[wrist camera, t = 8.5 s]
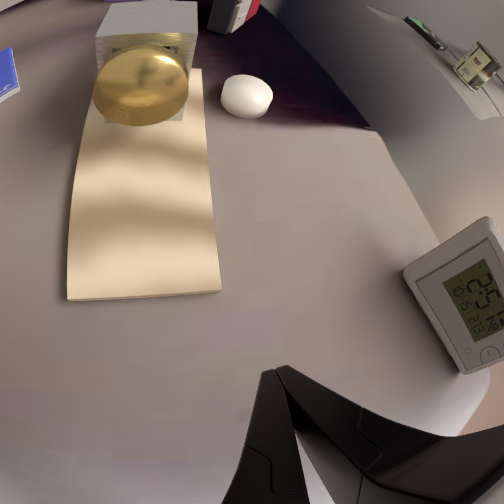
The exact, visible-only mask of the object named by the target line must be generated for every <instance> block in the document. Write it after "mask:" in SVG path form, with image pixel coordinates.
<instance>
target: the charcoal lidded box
mask: <svg viewBox="0 0 504 504" xmlns="http://www.w3.org/2000/svg"><path fill="white" fill-rule="evenodd" d="M260 2H261V0H214V2H213V5H212V9H211V13H210V17H209V21H208V25H207V30H210V31H214V32H217V33H220V34H223V35H227V34H228V33H229V32H230V33H233V32H234V31H235V30H236V29H237V28H238V27H240V26H241V25H242V24H243V23H244V21H247V20H248V19H249V18H251V17H252V16H253V15H254V14H256V12H257V10H258V7H259V4H260Z"/></svg>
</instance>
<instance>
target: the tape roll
mask: <svg viewBox="0 0 504 504" xmlns="http://www.w3.org/2000/svg"><path fill="white" fill-rule="evenodd" d="M102 1H107V2H125V1H133V0H102Z"/></svg>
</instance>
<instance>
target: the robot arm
mask: <svg viewBox="0 0 504 504" xmlns="http://www.w3.org/2000/svg"><path fill="white" fill-rule="evenodd" d="M295 434H296V436H297V437H298V439H299V441H300V443H301V445H302V447H303V448H304V450H305V452H306V454H307V456H308V457H309V459H310V461H311V463H312V465H313V466H314V468H315V470H316V472H317V473H318V475H319V477H320V479H321V480H322V482H323V484H324V485H325V487H326V489H327V491H328V492H329V494H330V496H331V497H332V499H333V501H334V502H335V504H504V424H503V425H500V426H497V427H493V428H490V429H486V430H482V431H479V432H475V433H471V434H466V435H462V436H456V437H446V436H439V435H435V434H432V433H428V432H425V431H422V430H418V429H415V428H412V427H409V426H406V425H403V424H400V423H397V422H394V421H392V420H389V419H387V418H384V417H382V416H380V415H378V414H376V413H373V412H371V411H369V410H368V409H366V408H362V407H361V406H360V405H358V404H356V403H354V402H352V401H350V400H348V399H346V398H345V397H343V396H341V395H339V394H337V393H335V392H334V391H332V390H330V389H328V388H326V387H325V386H323V385H321V384H319V383H318V382H316V381H314V380H312V379H311V378H309V377H307V376H306V375H304V374H302V373H300V372H299V371H297V370H295V369H294V368H292V367H290V366H289V365H284V366H281V367H278V368H276V369H275V370H274V369H271V370H267V371H263V372H262V373H261V377H260V381H259V386H258V390H257V394H256V399H255V403H254V407H253V411H252V415H251V419H250V423H249V427H248V431H247V435H246V439H245V443H244V447H243V451H242V454H241V458H240V461H239V464H238V468H237V470H236V473H235V475H234V478H233V480H232V482H231V485H230V487H229V489H228V491H227V493H226V495H225V497H224V499H223V501H222V503H221V504H310V502H309V497H308V493H307V488H306V483H305V478H304V474H303V469H302V464H301V460H300V455H299V450H298V446H297V441H296V436H295Z"/></svg>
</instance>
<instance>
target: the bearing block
mask: <svg viewBox="0 0 504 504" xmlns="http://www.w3.org/2000/svg"><path fill="white" fill-rule="evenodd" d="M197 36H198V20H197V2H190V1H140V2H124V3H113V4H112V5H111V7H110V9H109V10H108V12H107V14H106V16H105V18H104V20H103V22H102V24H101V26H100V28H99V30H98V32H97V34H96V36H95V45H96V57H97V67H98V72H99V70H100V68H101V66H102V64H103V63H104V62H105V61H106V60H107V59H108V58H109V57H110V56H111V55H112V54H114V53H115V52H117V51H119V50H121V49H123V48H126V47H129V46H134V45H141V44H151V45H157V46H175V49H174V50H171V51H173V52H174V53H176V54H177V55H178V56H179V57H180V58H181V59H182V60H183V61H184V63H185V65H186V67H187V70H188V76H189V77H190V71H191V66H192V60H193V55H194V50H195V45H196V40H197ZM184 107H185V105H184V106H183V107H182V109H181V110H180V111H179V112H178V113H177V114H175V115H174V116H172V117H171V118H169V119H167V120H165V121H183V114H184ZM104 119H105V124H108V123H115V122H113V121H111V120H109V119H107V118H106V117H104Z"/></svg>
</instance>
